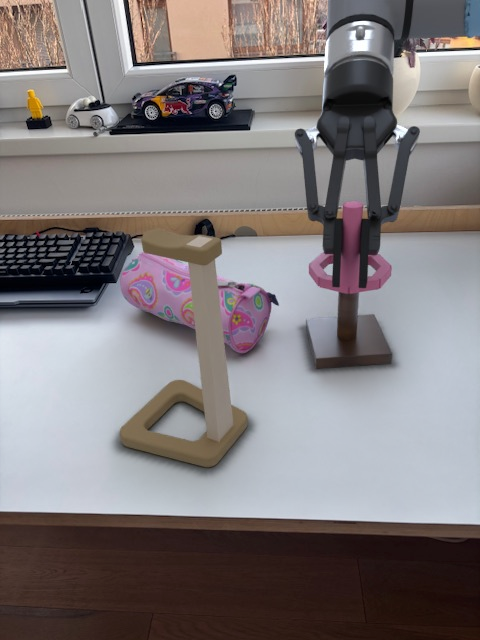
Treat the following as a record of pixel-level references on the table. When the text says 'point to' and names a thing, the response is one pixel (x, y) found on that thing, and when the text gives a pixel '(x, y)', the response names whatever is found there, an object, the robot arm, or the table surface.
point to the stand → (347, 337)
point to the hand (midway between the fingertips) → (349, 283)
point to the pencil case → (176, 299)
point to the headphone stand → (215, 393)
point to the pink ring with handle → (350, 257)
